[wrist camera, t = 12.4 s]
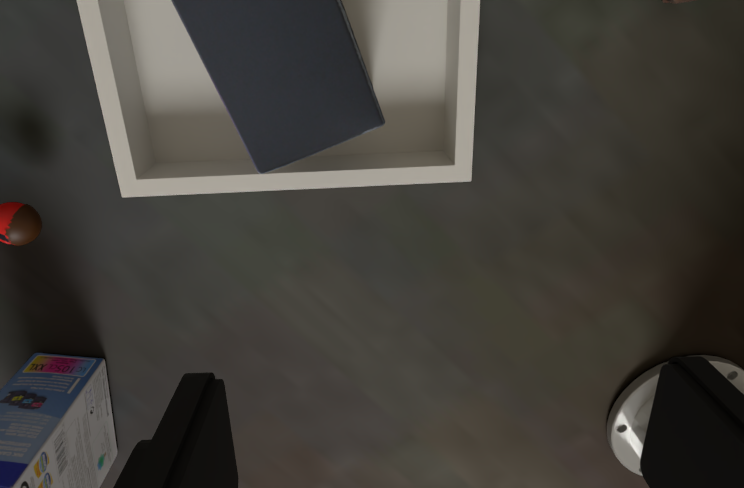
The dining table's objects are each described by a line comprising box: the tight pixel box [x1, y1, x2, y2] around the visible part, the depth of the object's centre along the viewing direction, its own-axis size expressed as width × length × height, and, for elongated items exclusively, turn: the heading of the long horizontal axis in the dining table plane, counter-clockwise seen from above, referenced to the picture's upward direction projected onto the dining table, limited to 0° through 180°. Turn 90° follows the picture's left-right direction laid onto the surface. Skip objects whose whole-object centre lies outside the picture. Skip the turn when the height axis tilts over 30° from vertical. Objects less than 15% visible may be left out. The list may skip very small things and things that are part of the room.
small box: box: [171, 0, 385, 174], centre depth 25 cm, size 11×6×10 cm, turn 21°
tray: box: [77, 0, 480, 197], centre depth 29 cm, size 20×18×4 cm
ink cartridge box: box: [0, 353, 117, 488], centre depth 34 cm, size 10×6×14 cm, turn 175°
